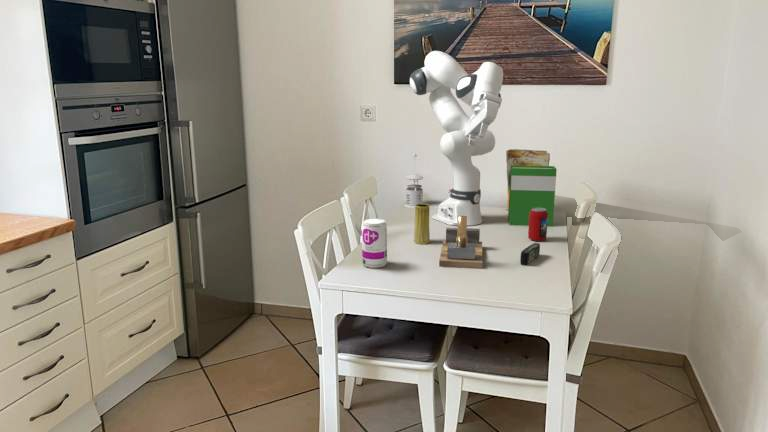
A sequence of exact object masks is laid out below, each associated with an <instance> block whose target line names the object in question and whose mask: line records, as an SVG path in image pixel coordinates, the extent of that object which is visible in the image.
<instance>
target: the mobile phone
mask: <svg viewBox="0 0 768 432" xmlns="http://www.w3.org/2000/svg"><path fill="white" fill-rule="evenodd" d="M540 251H541V244H540V243H538V242H534V243H531V244H530V245H529V246H527V247H526V248H524V249H523V250H522V251H521V252H520V259H519V261H520V265H522V266H528V265H529V264H530V263H531V262H533V261H534V260H536V259H537V258H538V257H539V256H540Z"/></svg>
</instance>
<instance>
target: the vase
mask: <svg viewBox="0 0 768 432" xmlns="http://www.w3.org/2000/svg"><path fill="white" fill-rule="evenodd" d="M414 210H415V211H414V235H413V236H414V237H413V238H414V239H413V243H414V242H415V243H414V244H418V245H427V244H429V243H431V239H430V237H431V236H430V234H431V233H430V205H429V204H428V203H422V204H416V205H415V208H414Z"/></svg>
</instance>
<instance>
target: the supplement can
mask: <svg viewBox="0 0 768 432" xmlns="http://www.w3.org/2000/svg"><path fill="white" fill-rule="evenodd" d="M387 226H388V225H387V223H386V220H385V219H382V218H377V217H376V218H367V219H364V220H363V222H362V224H361V250H362V251H361V254H362V255H361V258H362V261H361V263H362V265H364V267H367V268H371V269H372V268H373V269H379V268H382V267H385V266H386V264H387V263H388V254H387V253H388V246H387V245H388V234H387V233H388V227H387Z"/></svg>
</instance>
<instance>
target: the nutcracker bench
mask: <svg viewBox="0 0 768 432" xmlns="http://www.w3.org/2000/svg"><path fill="white" fill-rule="evenodd" d="M457 228H458V227H446V228H445V239H443V242H442V246H441V251H440V254H439V255H440V256H439V261H438V262H439V263H438V266H439V267H443V268H445V267H446V268H466V269H467V268H468V269H483V241H480V236H481V235H480V234H481V231H480V230H481V229H480V228H471V227H470V228H469V227H467V232H466V243H475V259H453V258H447V250H448V242H451V243H457Z"/></svg>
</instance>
